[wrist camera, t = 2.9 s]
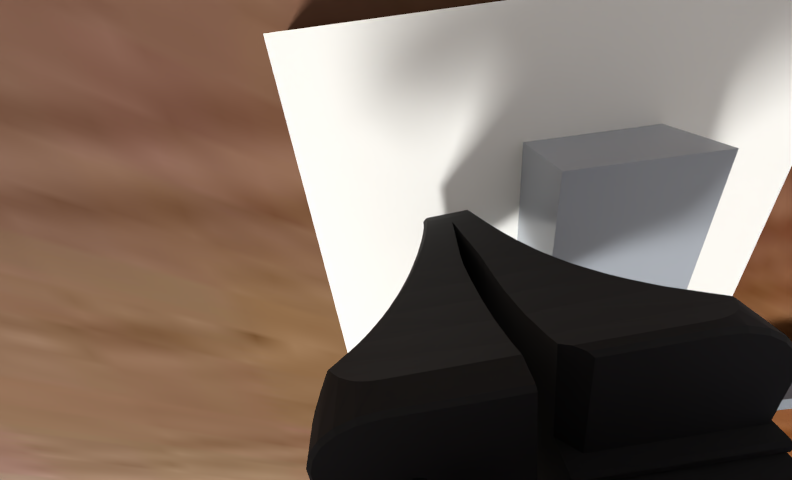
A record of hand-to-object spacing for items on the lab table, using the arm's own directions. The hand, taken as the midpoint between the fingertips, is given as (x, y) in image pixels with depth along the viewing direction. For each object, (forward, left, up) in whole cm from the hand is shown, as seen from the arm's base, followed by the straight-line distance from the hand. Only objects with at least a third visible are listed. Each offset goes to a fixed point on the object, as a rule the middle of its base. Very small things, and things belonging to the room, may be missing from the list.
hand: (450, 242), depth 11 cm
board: (-3, +3, -3) cm, 6 cm away
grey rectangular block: (-4, 0, -1) cm, 5 cm away
